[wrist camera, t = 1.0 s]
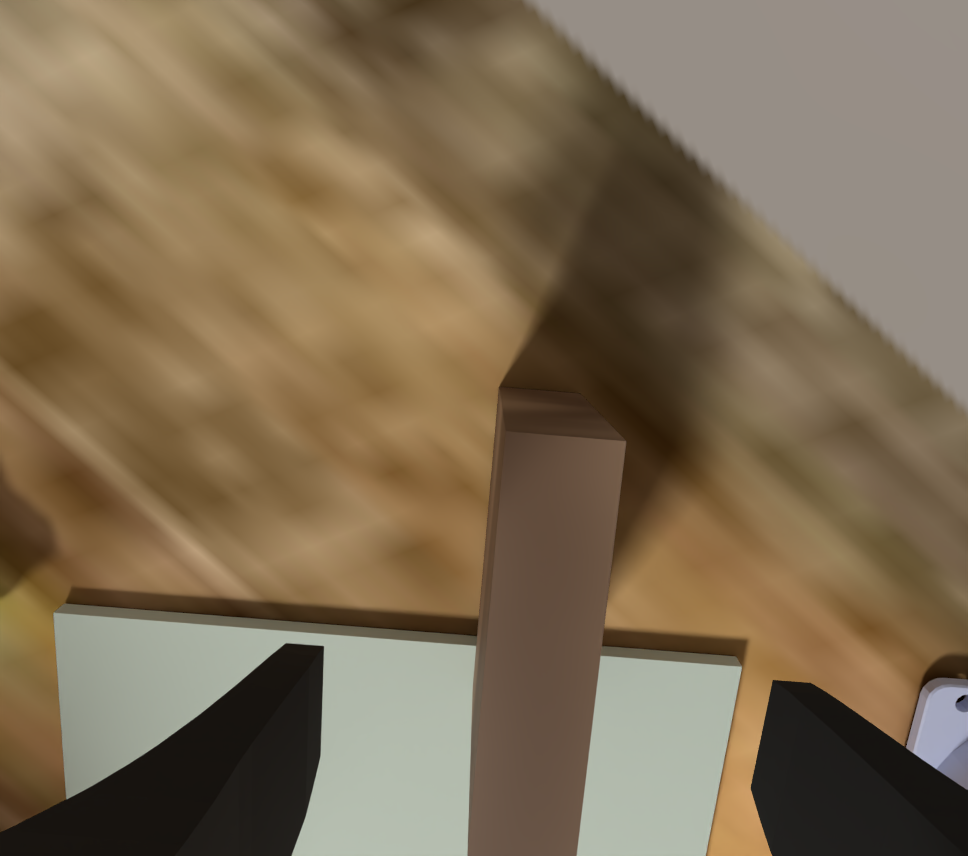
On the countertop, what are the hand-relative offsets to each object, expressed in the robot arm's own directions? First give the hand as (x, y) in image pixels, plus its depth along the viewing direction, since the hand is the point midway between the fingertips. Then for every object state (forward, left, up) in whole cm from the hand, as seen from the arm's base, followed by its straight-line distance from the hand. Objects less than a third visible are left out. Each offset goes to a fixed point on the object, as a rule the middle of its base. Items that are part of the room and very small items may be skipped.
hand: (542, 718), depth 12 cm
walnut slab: (0, 0, -7) cm, 7 cm away
